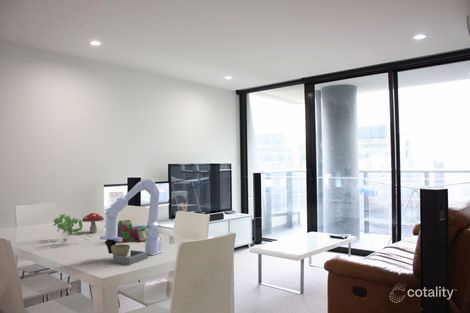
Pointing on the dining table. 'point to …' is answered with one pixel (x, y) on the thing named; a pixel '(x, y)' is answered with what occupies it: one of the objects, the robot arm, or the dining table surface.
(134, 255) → the bracket
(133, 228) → the puzzle
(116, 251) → the flower pot
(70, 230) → the plant cuttings
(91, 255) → the dining table surface
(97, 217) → the decorative mushroom
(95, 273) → the dining table surface
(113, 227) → the robot arm
